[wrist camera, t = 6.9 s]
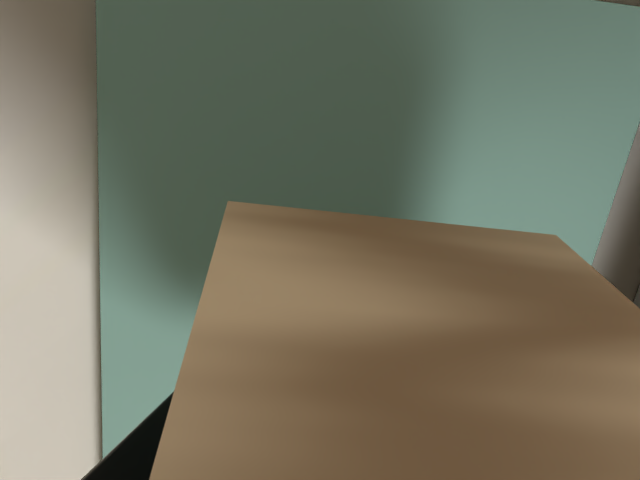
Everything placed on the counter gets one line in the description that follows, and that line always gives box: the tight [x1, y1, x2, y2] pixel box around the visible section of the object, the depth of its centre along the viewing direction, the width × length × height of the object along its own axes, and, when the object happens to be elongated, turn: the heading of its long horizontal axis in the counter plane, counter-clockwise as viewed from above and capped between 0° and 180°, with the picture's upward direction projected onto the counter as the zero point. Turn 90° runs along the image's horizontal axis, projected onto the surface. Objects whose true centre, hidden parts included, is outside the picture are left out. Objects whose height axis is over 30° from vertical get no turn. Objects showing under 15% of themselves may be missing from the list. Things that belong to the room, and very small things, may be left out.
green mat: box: [96, 0, 640, 458], centre depth 12 cm, size 10×12×1 cm
